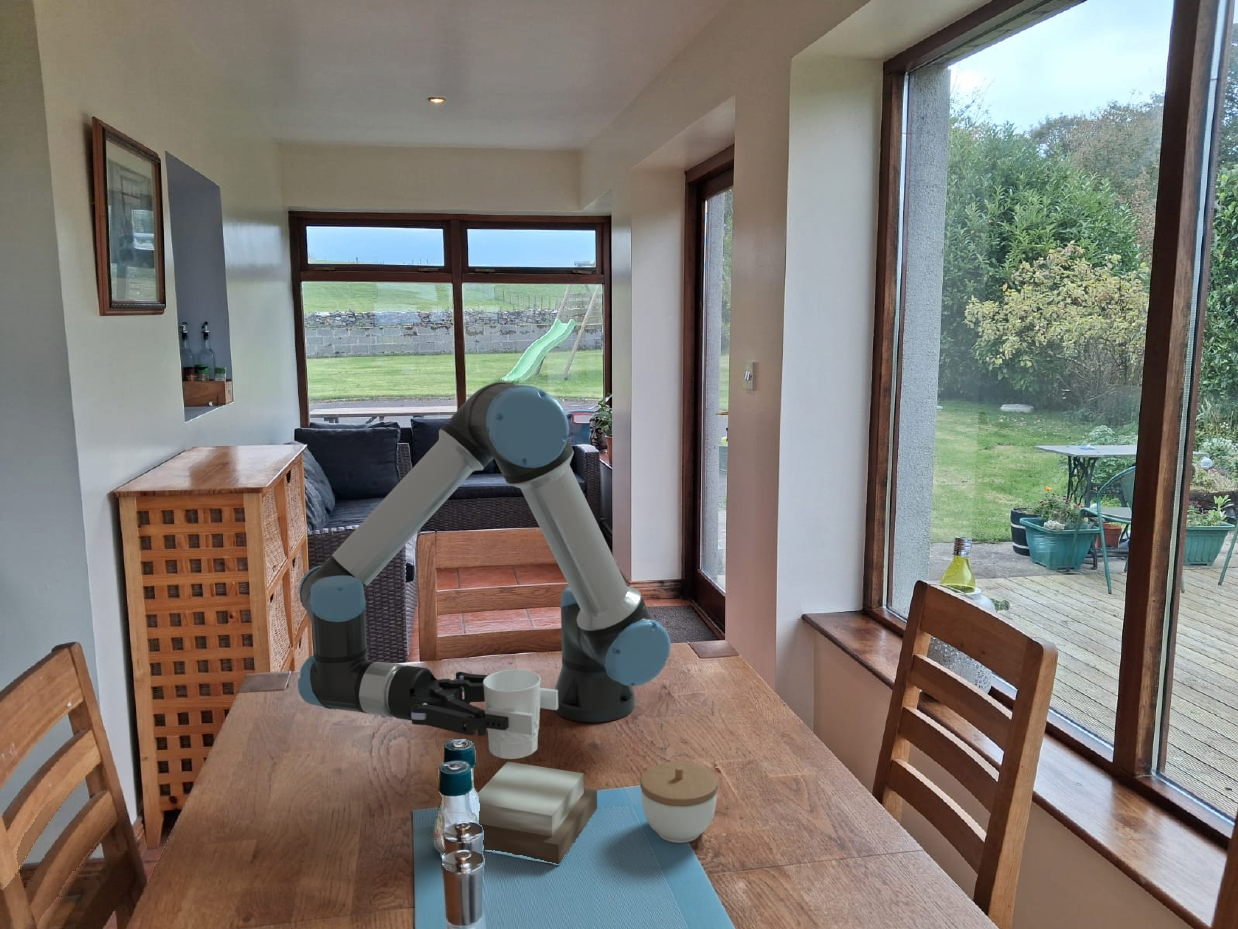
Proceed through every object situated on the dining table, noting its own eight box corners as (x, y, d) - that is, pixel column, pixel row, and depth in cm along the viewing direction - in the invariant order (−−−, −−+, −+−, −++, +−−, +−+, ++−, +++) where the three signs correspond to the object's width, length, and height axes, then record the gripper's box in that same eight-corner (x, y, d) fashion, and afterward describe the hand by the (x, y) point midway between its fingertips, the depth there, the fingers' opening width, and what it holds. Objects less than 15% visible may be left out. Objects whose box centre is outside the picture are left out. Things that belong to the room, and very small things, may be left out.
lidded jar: (694, 862, 121) (694, 795, 120) (625, 837, 127) (625, 774, 126) (730, 824, 130) (731, 762, 129) (664, 803, 136) (665, 743, 134)
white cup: (477, 759, 125) (475, 689, 123) (495, 733, 133) (493, 667, 131) (533, 763, 124) (532, 693, 122) (548, 738, 131) (547, 671, 130)
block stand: (503, 792, 139) (502, 755, 138) (597, 808, 134) (596, 770, 134) (456, 846, 125) (454, 805, 124) (558, 866, 120) (558, 823, 119)
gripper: (436, 689, 143) (573, 708, 136) (359, 746, 124) (513, 772, 117) (434, 643, 142) (572, 659, 135) (356, 694, 123) (512, 716, 115)
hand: (545, 711), depth 126 cm, fingers closed on white cup, 7 cm apart
